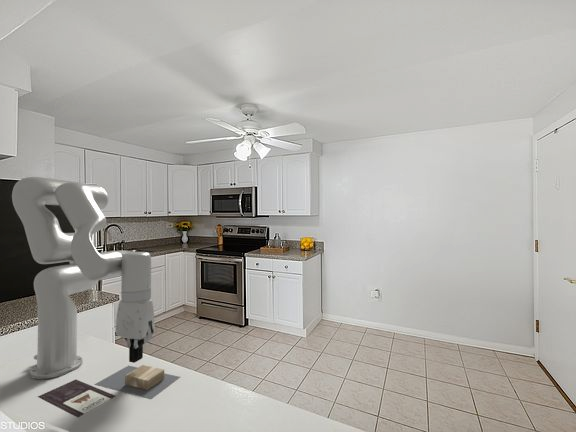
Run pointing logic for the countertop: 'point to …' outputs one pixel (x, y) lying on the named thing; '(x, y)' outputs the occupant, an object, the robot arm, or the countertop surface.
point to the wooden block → (144, 377)
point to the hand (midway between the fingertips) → (136, 360)
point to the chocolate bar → (76, 397)
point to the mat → (118, 383)
